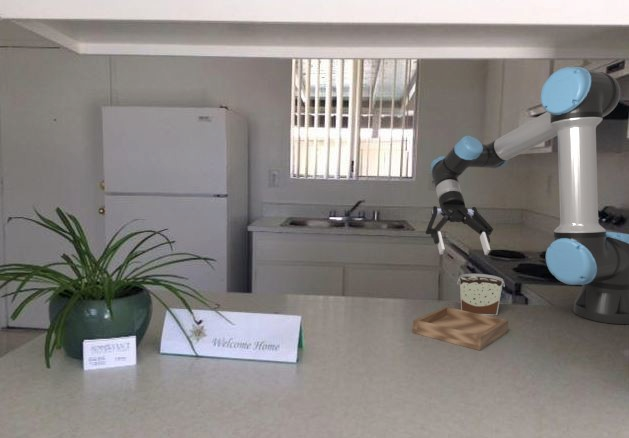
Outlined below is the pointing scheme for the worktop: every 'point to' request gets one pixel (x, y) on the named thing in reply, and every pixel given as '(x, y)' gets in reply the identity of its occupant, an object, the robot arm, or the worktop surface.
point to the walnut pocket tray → (461, 327)
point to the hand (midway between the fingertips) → (465, 252)
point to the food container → (480, 293)
